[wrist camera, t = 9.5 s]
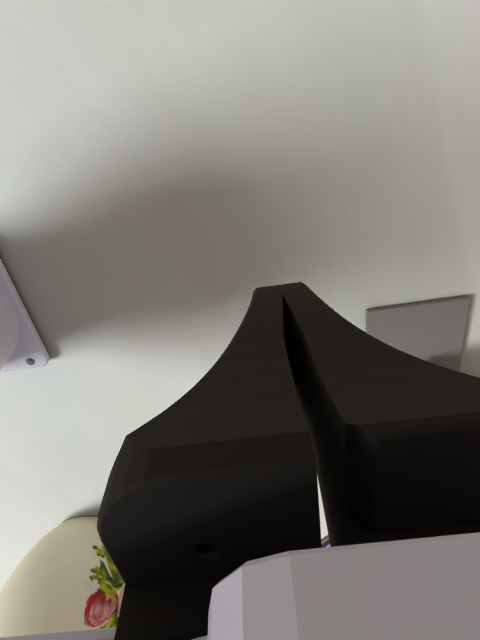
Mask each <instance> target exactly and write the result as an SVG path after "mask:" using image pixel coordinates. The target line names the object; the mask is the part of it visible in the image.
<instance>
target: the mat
mask: <svg viewBox="0 0 480 640" xmlns="http://www.w3.org/2000/svg"><path fill="white" fill-rule="evenodd" d="M469 304H470V297H469V296H468V295H467V296H460V297H453V298H445V299H438V300H431V301H424V302H416V303H409V304H402V305H395V306H388V307H380V308H373V309H367V325H366V333H367V334H369V335H371V336H373V337H375V338H376V339H378V340H380V341H382V342H384V343H386V344H388V345H390V346H392V347H394V348H396V349H398V350H400V351H403V352H405V353H408V354H410V355H412V356H415V357H417V358H420V359H422V360H425V361H427V362H430V363H433V364H436V365H438V366H441V367H445V368H448V369H451V370H454V371H457V372H458V371H459V365H460V359H461V353H462V347H463V341H464V335H465V329H466V323H467V316H468V310H469Z"/></svg>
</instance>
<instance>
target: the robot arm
mask: <svg viewBox="0 0 480 640" xmlns="http://www.w3.org/2000/svg"><path fill="white" fill-rule="evenodd" d="M29 358H32V359H33V360H34V361H32V360H30V359H29ZM48 361H49V355H48V353H47V351H46V349H45V347H44V345H43V343H42V341H41V339H40V337H39V335H38V333H37V331H36V329H35V327H34V325H33V323H32V321H31V319H30V317H29V315H28V313H27V311H26V309H25V307H24V305H23V303H22V301H21V299H20V297H19V295H18V293H17V291H16V289H15V287H14V285H13V283H12V281H11V279H10V277H9V275H8V273H7V271H6V269H5V267H4V265H3V263H2V261H1V259H0V372H5V371H13V370H20V369H27V368H35V367H42V366H45V365H46V364H47V363H48ZM317 476H318V482H319V487H320V492H321V498H322V503H323V508H324V514H325V519H326V525H327V530H328V536H329V541H330V547H325V548H322V544H321V528H320V513H319V497H318V482H317ZM97 531H98V534H99V537H100V540H101V542H102V544H103V546H104V547H105V549H106V551H107V553H108V554H109V556H110V558H111V560H112V561H113V563H114V565H115V567H116V568H117V570H118V572H119V574H120V575H121V577H122V579H123V581H124V583H125V587H124V592H123V597H122V602H121V607H120V612H119V617H118V622H117V627H113V628H102V629H91V630H80V631H68V632H57V633H46V634H35V635H24V636H12V637H1V638H0V640H480V378H478V377H474V376H470V375H467V374H464V373H460V372H457V371H454V370H451V369H448V368H445V367H441V366H438V365H436V364H433V363H430V362H427V361H425V360H422V359H420V358H417V357H415V356H412V355H410V354H408V353H405V352H403V351H400V350H398V349H396V348H394V347H392V346H390V345H388V344H386V343H384V342H382V341H380V340H378V339H376V338H375V337H373V336H371V335H369V334H367V333H366V332H364V331H362V330H361V329H359V328H358V327H356V326H355V325H353V324H352V323H350V322H349V321H347V320H346V319H344V318H343V317H342V316H340V315H339V314H338V313H337V312H335V311H334V310H333V309H332V308H330V307H329V306H328V305H327V304H326V303H324V302H323V301H322V300H321V299H320V298H319V297H318V296H317V295H316V294H315V293H313V292H312V291H311V290H310V289H309V288H308V287H307V286H306V285H305V284H304V283H302V282H298V283H290V284H283V285H275V286H268V287H260V288H257V289H256V290H255V291H254V292H253V297H252V300H251V303H250V306H249V308H248V311H247V313H246V315H245V317H244V319H243V321H242V323H241V325H240V327H239V329H238V331H237V332H236V334H235V336H234V337H233V339H232V341H231V342H230V344H229V345H228V347H227V348H226V350H225V351H224V353H223V354H222V355H221V357H220V358H219V359H218V361H217V362H216V363H215V364H214V366H213V367H212V368H211V369H210V370H209V371H208V372H207V373H206V375H205V376H204V377H203V378H202V379H201V380H200V381H199V382H198V383H197V384H196V385H195V386H194V387H193V388H192V389H191V390H189V391H188V392H187V393H186V394H185V395H184V396H182V397H181V398H180V399H179V400H178V401H176V402H175V403H174V404H173V405H171V406H170V407H169V408H167V409H166V410H165V411H163V412H162V413H161V414H159V415H158V416H156V417H155V418H153V419H152V420H150V421H149V422H147V423H146V424H144V425H143V426H141V427H139V428H138V429H136V430H135V431H133V432H132V433H130V434H128V435H127V436H126V437H125V439H124V442H123V444H122V447H121V449H120V451H119V453H118V455H117V458H116V460H115V463H114V465H113V467H112V470H111V473H110V476H109V479H108V483H107V486H106V489H105V493H104V496H103V500H102V503H101V507H100V510H99V513H98V521H97Z"/></svg>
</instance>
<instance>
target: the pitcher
mask: <svg viewBox="0 0 480 640" xmlns="http://www.w3.org/2000/svg"><path fill="white" fill-rule="evenodd" d="M97 521H98V517H89V516H87V517H76V518H72V519H69V520H67V521H64V522H63V523H61V524H60V525H59V526H58V527H56V528H55V529H53V530H52V531H50V532H49V533H48V534H46V535H45V536H44V537H43V538H42V539H41V540H40V541H39V542H38V543H37V544H35V546H34V547H33V548H32V549H31V550H30V551H29V552H28V553H27V555H26V556H25V557H24V559H23V560H22V561H21V562H20V564H19V565H18V566H17V568H16V569H15V570H14V572H13V573H12V575H11V576H10V578H9V579H8V580H7V582H6V584H5V585H4V587H3V589H2V590H1V592H0V638H1V637H12V636H24V635H35V634H46V633H57V632H68V631H80V630H91V629H102V628H113V627H117V622H118V617H119V612H120V607H121V602H122V597H123V592H124V587H125V583H124V581H123V579H122V577H121V575H120V574H119V572H118V570H117V568H116V567H115V565H114V563H113V561H112V560H111V558H110V556H109V554H108V553H107V551H106V549H105V547H104V546H103V544H102V542H101V540H100V537H99V534H98V531H97Z"/></svg>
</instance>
